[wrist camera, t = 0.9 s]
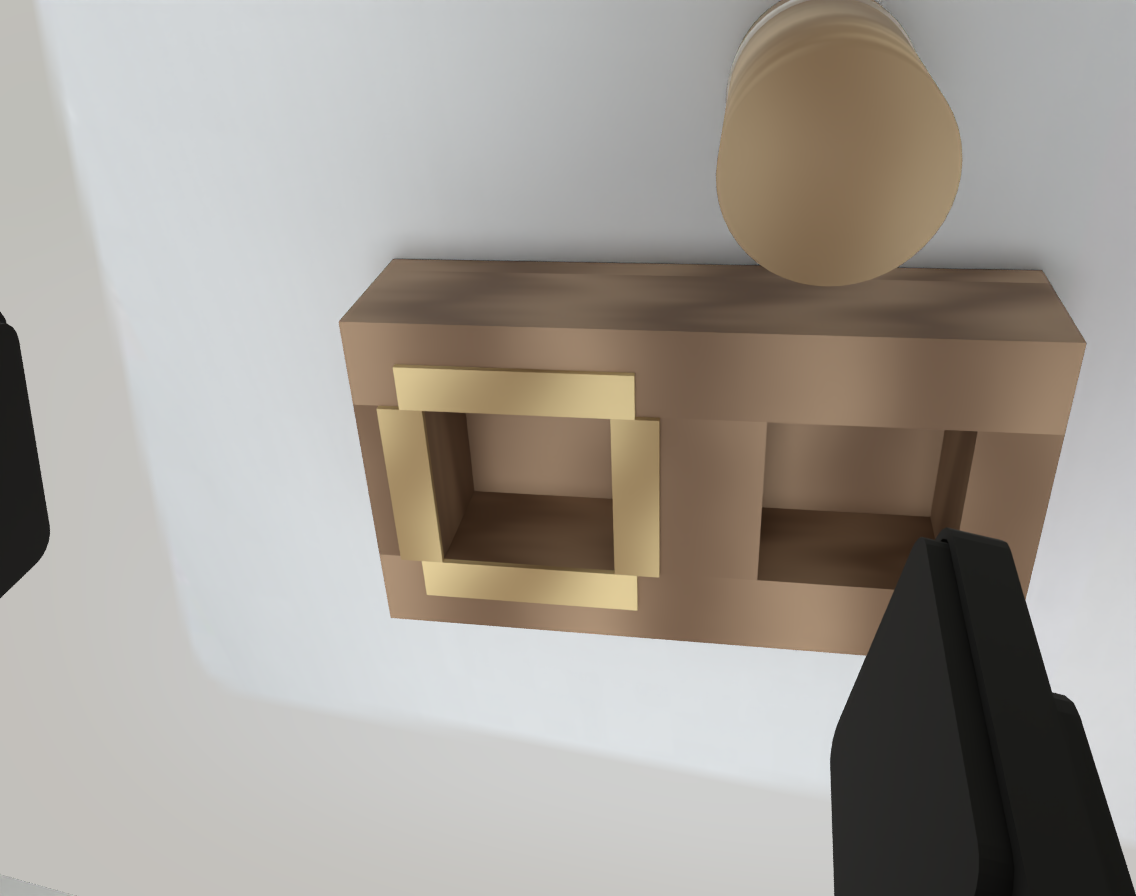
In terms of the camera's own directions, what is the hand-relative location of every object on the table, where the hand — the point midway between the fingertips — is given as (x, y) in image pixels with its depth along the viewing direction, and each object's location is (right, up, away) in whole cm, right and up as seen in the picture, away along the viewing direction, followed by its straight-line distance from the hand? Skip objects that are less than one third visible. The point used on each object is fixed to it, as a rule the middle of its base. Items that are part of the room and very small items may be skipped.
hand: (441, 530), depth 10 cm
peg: (+8, +12, +18) cm, 23 cm away
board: (+6, +2, +24) cm, 25 cm away
